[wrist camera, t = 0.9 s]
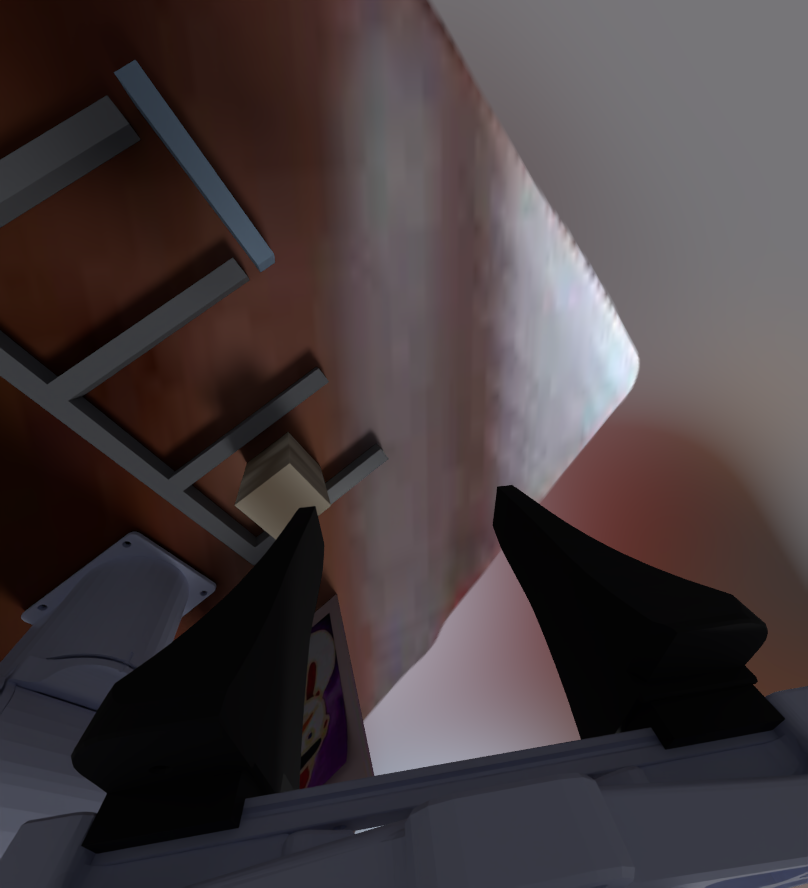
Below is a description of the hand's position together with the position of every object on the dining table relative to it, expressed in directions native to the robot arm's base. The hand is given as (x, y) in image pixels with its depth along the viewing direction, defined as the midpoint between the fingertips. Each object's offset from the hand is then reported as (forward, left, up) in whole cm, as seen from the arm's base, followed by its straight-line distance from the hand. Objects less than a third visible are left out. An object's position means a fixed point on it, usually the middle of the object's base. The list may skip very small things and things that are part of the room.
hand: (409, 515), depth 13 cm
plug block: (-6, 0, -16) cm, 17 cm away
